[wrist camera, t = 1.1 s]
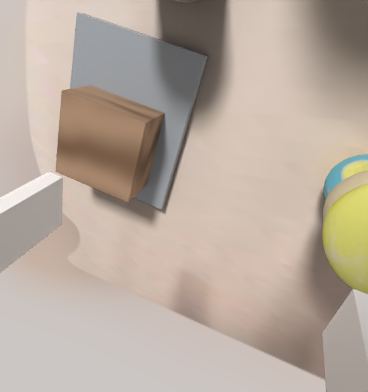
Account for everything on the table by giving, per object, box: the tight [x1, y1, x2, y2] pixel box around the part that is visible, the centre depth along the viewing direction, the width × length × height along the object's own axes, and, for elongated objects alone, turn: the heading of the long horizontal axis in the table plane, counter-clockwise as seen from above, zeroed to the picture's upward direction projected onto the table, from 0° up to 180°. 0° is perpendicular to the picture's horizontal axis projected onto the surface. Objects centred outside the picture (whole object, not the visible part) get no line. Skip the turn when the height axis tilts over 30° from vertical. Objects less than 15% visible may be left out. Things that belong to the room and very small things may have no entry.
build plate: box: [70, 13, 208, 209], centre depth 36 cm, size 18×14×1 cm
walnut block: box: [56, 85, 165, 202], centre depth 34 cm, size 9×9×5 cm
